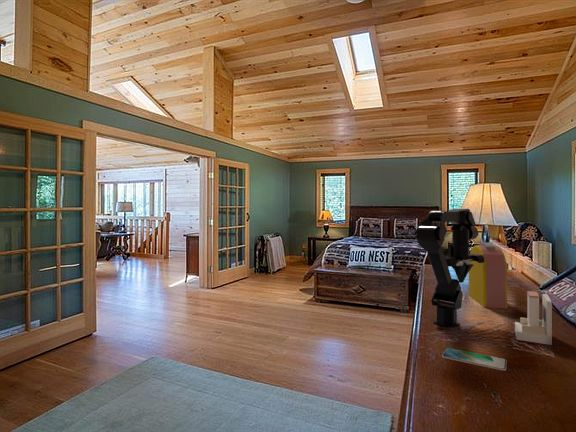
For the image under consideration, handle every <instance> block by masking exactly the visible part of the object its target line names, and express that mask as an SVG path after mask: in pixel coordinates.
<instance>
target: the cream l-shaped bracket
mask: <svg viewBox="0 0 576 432" xmlns="http://www.w3.org/2000/svg"><path fill="white" fill-rule="evenodd" d="M552 305H553V303H552V299H550V297H549V295H548V294H547V293H542V307H541V309H542V310H541V312H542V319H539V327H536V326H529V325H528V324H527V317H520V318H519V319H520V320H519V321H520V322H518V321H515V322H514V333H515V339H516V340H518V341H524V342H530V343H537V344H543V345H550V346H552V345H553V342H552V341H553V340H552V339H553V337H552V336H553V334H552V333H553V332H552V331H553V328H552V327H553V326H552V325H553V324H552V323H553V321H552V320H553V319H552V318H553V314H552V312H553V306H552Z"/></svg>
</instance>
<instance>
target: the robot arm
mask: <svg viewBox="0 0 576 432" xmlns="http://www.w3.org/2000/svg"><path fill="white" fill-rule="evenodd" d="M446 222H447V223H448V224H449V223H450V224H451V225H452V226H451V228H450V231H451V242H452V243H449V245H448V246H449V247H448V248H445V247H443V244H444V241H445V237H446V234H447V231H448V229H447V226H446ZM433 223H441V225H440V226H437V225H432V224H433ZM476 225H477V224H476V221H475V218H474V215H473V212H472V211H471V209H469V208H451V209H449V210H448V211H445V210H431V211H429V213H428V215H427V216H426V217H425V218H424V219H422V220H421V221H420V222H419V223H418V226H417V228H416V230H415V232H414V236H415V239H416V240H417V243H418V245H419V247H420V248H422V249H423V250H424V251H425V252H426V253H427V256H428V258H429V262H430V265H431V268H432V271H433V273H434V277H435V280H436V282H437V284H436V286H435V287H434V293H433V295H432V297H431V300H430V301H431V305H432V306H433V307H434V306H435V307H436V320H433V324H437V325H439V326H441V327H442V326H443V327H446V328H452V327H457V326H460V325H461V323H460V322H457V321H458V320H457V318H458V315H457V314H458V313H457V310H459V309H461V308H462V304H463V296H464V293H463V290H462V287H461V284H463V283H464V281H465V279H466V277H467V275H469V271H470V269H471V268H472V266H474V265H473V264H471V262H470V261H477V262H478V263H484V257H483V255H477V254H470V248H473V247H472V246H473V245H472V244H470V241H471V240H472V241H473V240H476V239H477V237H478V236H479V229H478V228H477V227H476ZM449 267H451V268H452V269H453V270H454V272H455V275H456V278H457V279H455V278H452V275H451V272H450V269H449Z"/></svg>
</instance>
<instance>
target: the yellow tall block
mask: <svg viewBox="0 0 576 432" xmlns="http://www.w3.org/2000/svg"><path fill="white" fill-rule="evenodd" d="M469 254H477V255H483V257H484V263H478V262H477V261H470V262H471V264H473V265H474V266H472V268H471V269H470V271H469V272H468V296H469V298H470V299H472V300H474V301H475V302H476V303H478V304H479V305H480V306H482V307H483V308H488V309H489V308H490V309H491V308H492V309H493V308H494V309H508V264H507V260H506V256H505V254H504V252H503V250H502V248H500V247H499V246H498V245H494V244H493V243H492V242H481V243H479V244H477V245H474V246H473V247H471V250H470V251H469Z"/></svg>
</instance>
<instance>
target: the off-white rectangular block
mask: <svg viewBox="0 0 576 432" xmlns="http://www.w3.org/2000/svg"><path fill="white" fill-rule="evenodd" d="M526 294H527V295H526V297H527V300H526V301H527V305H526V307H527V309H526V310H527V314H526V315H527V317H526V318H527V324H528V325H529V326H536V327H539V320H540V296H539V293H538V292H537V291H531V290H530V291H529V290H527V293H526Z"/></svg>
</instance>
